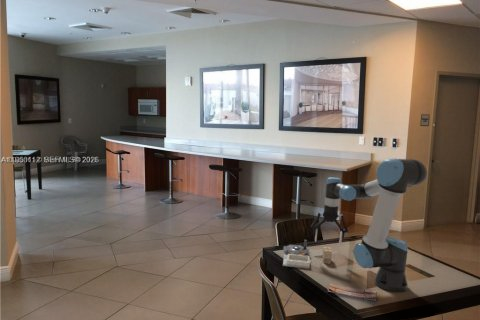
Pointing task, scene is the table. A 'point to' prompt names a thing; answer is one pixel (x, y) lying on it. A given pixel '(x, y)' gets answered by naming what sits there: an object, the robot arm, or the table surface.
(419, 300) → the table surface
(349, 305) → the table surface
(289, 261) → the base plate
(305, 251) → the sprocket
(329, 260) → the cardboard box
